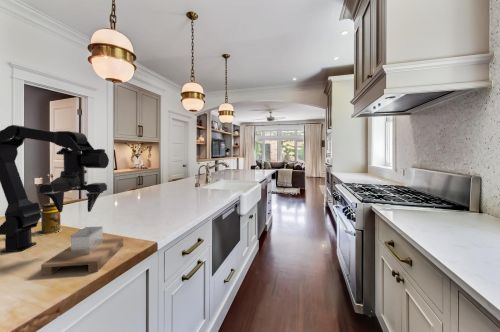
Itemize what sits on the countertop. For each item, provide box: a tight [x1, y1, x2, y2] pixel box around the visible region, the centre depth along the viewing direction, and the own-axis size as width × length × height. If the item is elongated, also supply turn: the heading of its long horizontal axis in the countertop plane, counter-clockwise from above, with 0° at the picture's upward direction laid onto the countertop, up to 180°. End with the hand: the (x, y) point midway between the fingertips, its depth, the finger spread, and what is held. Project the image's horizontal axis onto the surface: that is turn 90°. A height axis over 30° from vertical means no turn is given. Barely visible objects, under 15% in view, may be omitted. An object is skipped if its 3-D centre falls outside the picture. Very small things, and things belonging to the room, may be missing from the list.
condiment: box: [34, 202, 63, 237], centre depth 94 cm, size 7×8×12 cm
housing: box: [70, 226, 104, 255], centre depth 70 cm, size 8×5×6 cm, turn 10°
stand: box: [40, 237, 124, 276], centre depth 70 cm, size 18×14×3 cm
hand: (75, 211), depth 78 cm, fingers open, 9 cm apart
